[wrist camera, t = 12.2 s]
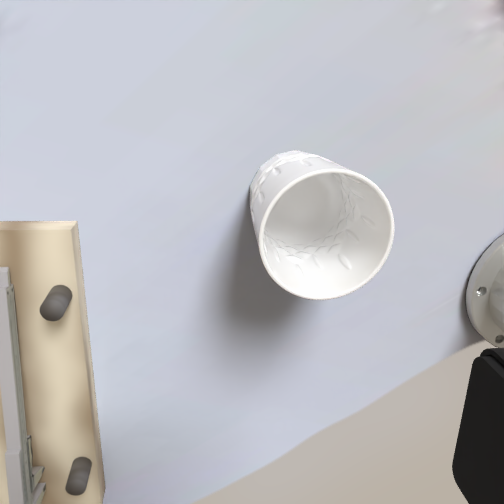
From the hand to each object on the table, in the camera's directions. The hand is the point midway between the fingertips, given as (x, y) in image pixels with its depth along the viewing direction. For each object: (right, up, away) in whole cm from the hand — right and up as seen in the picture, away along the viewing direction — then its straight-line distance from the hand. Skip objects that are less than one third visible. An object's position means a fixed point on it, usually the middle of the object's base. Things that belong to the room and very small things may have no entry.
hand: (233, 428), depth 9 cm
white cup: (+3, +8, +27) cm, 29 cm away
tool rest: (-18, -7, +30) cm, 36 cm away
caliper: (-17, -7, +28) cm, 34 cm away
